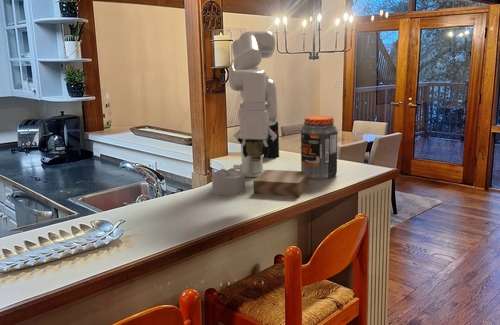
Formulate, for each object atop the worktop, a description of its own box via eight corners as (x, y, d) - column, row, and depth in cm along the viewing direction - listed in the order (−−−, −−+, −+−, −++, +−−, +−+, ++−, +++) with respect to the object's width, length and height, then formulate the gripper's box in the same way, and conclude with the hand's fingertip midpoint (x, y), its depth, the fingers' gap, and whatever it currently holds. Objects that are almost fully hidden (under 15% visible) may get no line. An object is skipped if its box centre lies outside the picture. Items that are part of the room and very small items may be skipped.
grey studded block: (236, 196, 176) (235, 174, 174) (207, 193, 182) (205, 172, 180) (248, 189, 186) (247, 168, 184) (220, 186, 191) (219, 166, 189)
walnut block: (253, 195, 178) (253, 180, 177) (266, 183, 195) (266, 169, 193) (299, 198, 172) (299, 183, 171) (308, 185, 189) (308, 171, 188)
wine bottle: (264, 154, 252) (263, 99, 246) (281, 155, 247) (280, 99, 241) (258, 157, 245) (256, 101, 239) (275, 158, 241) (274, 101, 234)
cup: (259, 164, 160) (258, 141, 159) (241, 162, 164) (240, 140, 162) (269, 159, 167) (269, 137, 165) (252, 157, 170) (251, 136, 168)
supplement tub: (294, 174, 207) (293, 117, 201) (322, 169, 214) (323, 114, 208) (314, 181, 193) (314, 120, 187) (344, 176, 200) (345, 117, 194)
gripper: (227, 108, 160) (229, 158, 164) (275, 108, 155) (276, 160, 159) (234, 105, 167) (236, 153, 171) (281, 105, 162) (281, 155, 166)
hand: (255, 156), depth 165 cm, fingers closed on cup, 6 cm apart
